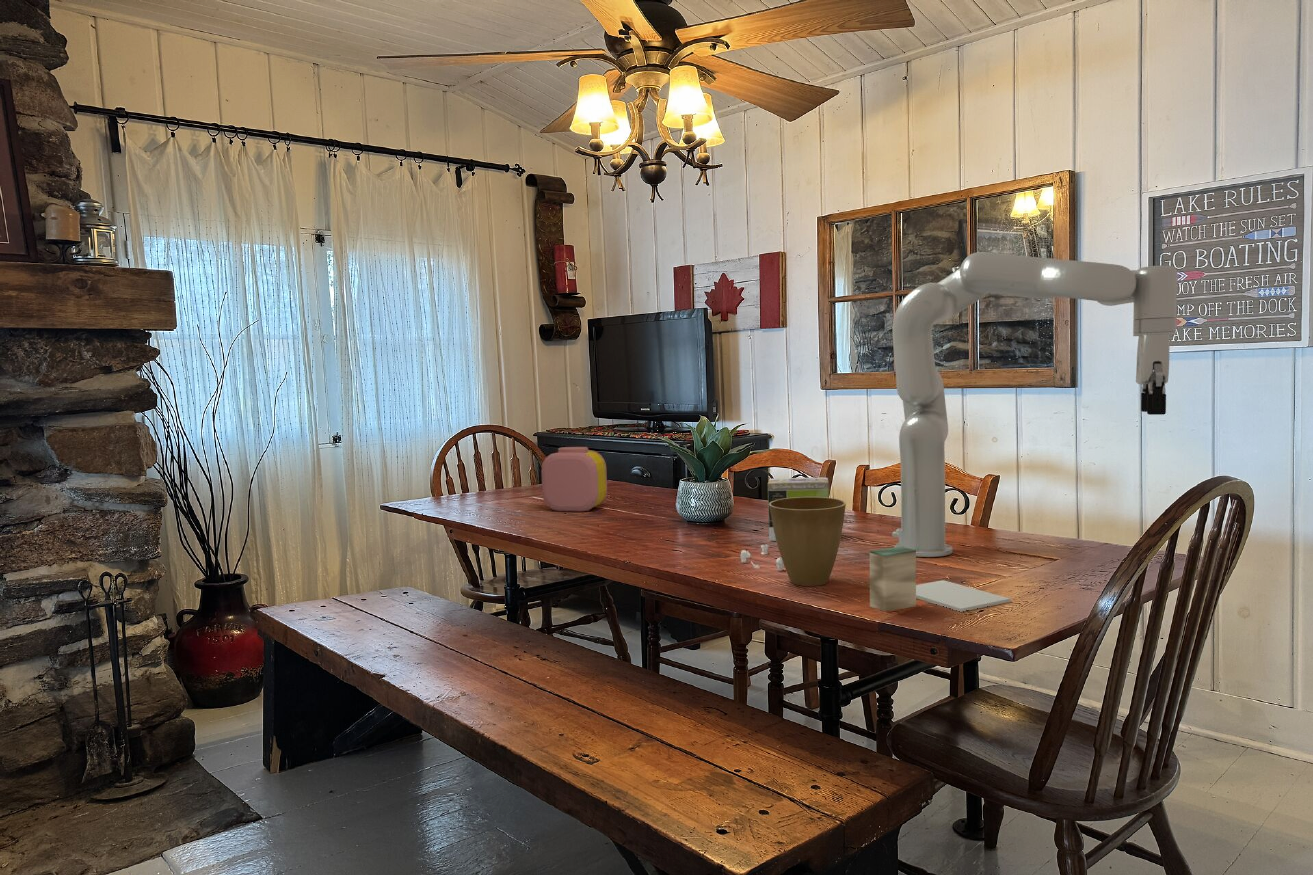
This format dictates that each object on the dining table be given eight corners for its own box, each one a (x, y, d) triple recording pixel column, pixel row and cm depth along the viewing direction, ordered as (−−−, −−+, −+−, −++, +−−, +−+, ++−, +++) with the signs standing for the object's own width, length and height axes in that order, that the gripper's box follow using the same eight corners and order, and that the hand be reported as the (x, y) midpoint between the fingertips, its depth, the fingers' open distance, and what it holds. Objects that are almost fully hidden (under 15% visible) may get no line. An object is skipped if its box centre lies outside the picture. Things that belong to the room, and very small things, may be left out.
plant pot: (781, 571, 182) (779, 495, 180) (852, 575, 176) (851, 497, 175) (761, 588, 168) (760, 506, 167) (838, 594, 162) (837, 509, 161)
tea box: (829, 534, 220) (829, 476, 219) (830, 542, 210) (830, 481, 209) (770, 533, 222) (769, 476, 221) (768, 541, 213) (767, 482, 211)
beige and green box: (869, 606, 153) (869, 550, 153) (900, 600, 157) (899, 546, 156) (885, 611, 150) (885, 555, 149) (916, 605, 153) (915, 550, 152)
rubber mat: (895, 591, 163) (895, 588, 163) (943, 583, 168) (943, 580, 168) (960, 612, 148) (960, 608, 148) (1010, 601, 154) (1010, 598, 154)
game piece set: (811, 576, 178) (811, 558, 177) (724, 567, 188) (723, 550, 188) (843, 557, 194) (842, 540, 194) (761, 550, 205) (760, 534, 204)
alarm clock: (609, 507, 273) (607, 445, 271) (597, 512, 262) (595, 449, 261) (554, 506, 278) (552, 446, 277) (540, 511, 268) (538, 449, 266)
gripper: (1128, 330, 184) (1127, 410, 185) (1138, 327, 168) (1137, 415, 170) (1169, 328, 181) (1167, 410, 182) (1183, 326, 165) (1181, 415, 167)
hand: (1153, 413), depth 176 cm, fingers open, 9 cm apart
